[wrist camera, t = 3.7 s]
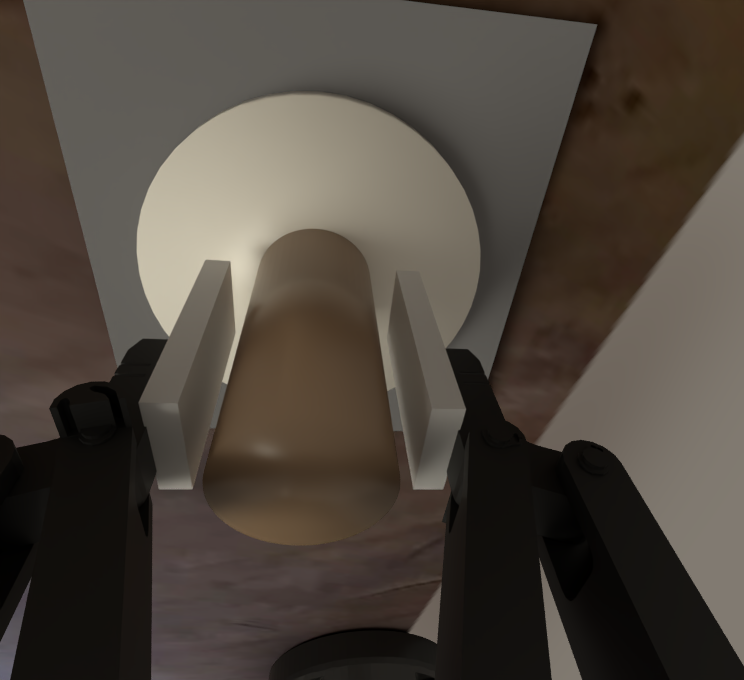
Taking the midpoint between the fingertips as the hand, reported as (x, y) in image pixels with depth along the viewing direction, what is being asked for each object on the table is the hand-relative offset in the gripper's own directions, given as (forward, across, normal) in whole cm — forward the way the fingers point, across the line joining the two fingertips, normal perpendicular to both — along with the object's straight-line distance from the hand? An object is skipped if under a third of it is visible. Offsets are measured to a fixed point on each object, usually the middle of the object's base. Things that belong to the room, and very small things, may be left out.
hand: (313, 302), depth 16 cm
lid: (+2, 0, 0) cm, 2 cm away
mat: (+3, 0, 0) cm, 3 cm away
